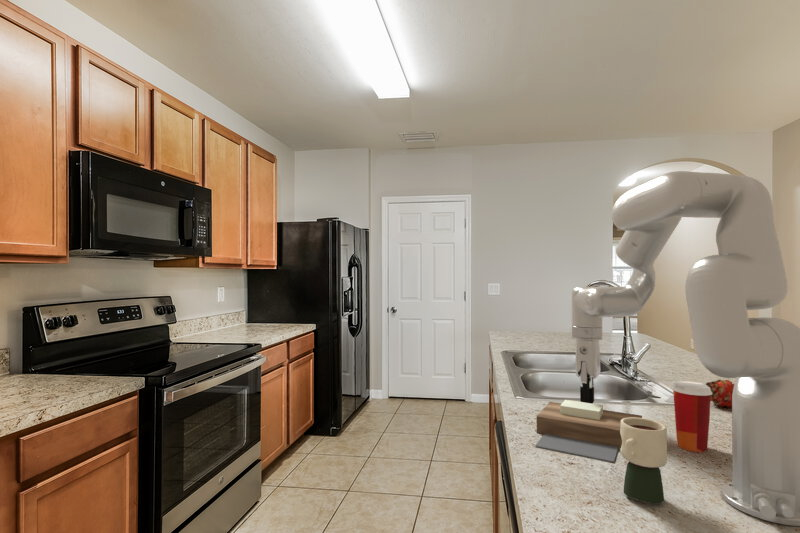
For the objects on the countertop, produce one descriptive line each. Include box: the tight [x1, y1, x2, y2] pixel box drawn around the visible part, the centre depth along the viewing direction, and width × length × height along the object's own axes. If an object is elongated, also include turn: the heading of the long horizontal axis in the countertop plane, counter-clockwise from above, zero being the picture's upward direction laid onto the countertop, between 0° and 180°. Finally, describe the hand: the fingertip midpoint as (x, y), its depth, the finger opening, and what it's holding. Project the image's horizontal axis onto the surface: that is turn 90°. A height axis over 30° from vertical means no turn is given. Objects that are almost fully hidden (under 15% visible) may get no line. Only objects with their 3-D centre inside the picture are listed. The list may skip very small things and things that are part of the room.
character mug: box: [619, 417, 668, 505], centre depth 77 cm, size 11×7×13 cm, turn 125°
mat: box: [534, 433, 619, 464], centre depth 100 cm, size 9×16×1 cm, turn 59°
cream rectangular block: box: [560, 399, 604, 420], centre depth 111 cm, size 6×9×2 cm, turn 59°
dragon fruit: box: [705, 379, 735, 409], centre depth 130 cm, size 8×8×12 cm
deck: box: [536, 401, 643, 449], centre depth 109 cm, size 14×22×4 cm, turn 59°
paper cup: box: [670, 380, 713, 453], centre depth 100 cm, size 8×8×14 cm
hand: (587, 401), depth 118 cm, fingers closed
